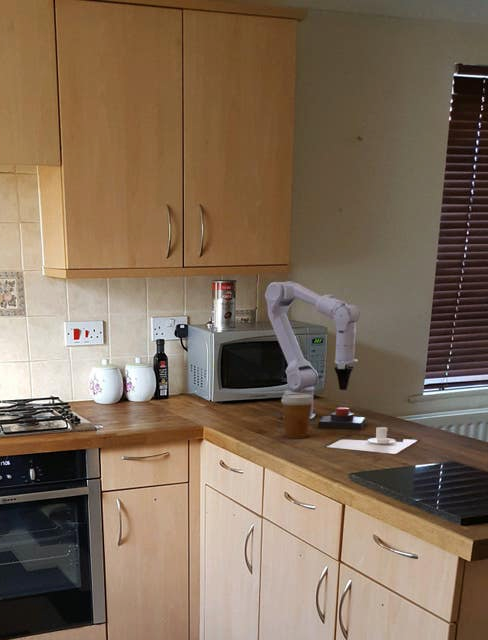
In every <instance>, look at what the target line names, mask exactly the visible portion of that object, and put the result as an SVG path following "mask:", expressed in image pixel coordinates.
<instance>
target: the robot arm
mask: <svg viewBox="0 0 488 640" xmlns="http://www.w3.org/2000/svg"><path fill="white" fill-rule="evenodd" d="M264 299H265V300H266V304H267V316H268V319H269V321H270V324H271V326H272V329H273V331H274V334H275V336H276V339H277V341H278V344H279V347H280V348H281V351H282V353H283V356H284V358H285V360H286V364H287V367H286V369H285V375H286V382H287V383H286V384H287V386H288V388H289V389H286V390H284V394H283V395H285V394H294V393H301V394H310V395H312V398H313V399H314V390H315V386H316V385H317V384H318V382H319V375H318V374H319V373H318V372H317V370H316V369H315V368H314V367H313V366H312V363H311V362H310V361H309V360H307V359H306V358H305V357H304V355H303V352H302V350H301V348H300V345H299V343H298V340H297V338H296V336H295V335H296V334H295V332H294V331H293V328H292V325H291V323H290V320H289V318H288V315H287V313H288V311H289V309H290V307H291V306H292V304H293V303H294V302H295V300H300V301H302V302H305V303H306V304H310V305H311V306H313V307H316V310H317V312H318V313H320V314H321V315H323V316H325V317H327V318H329V319H332V320H333V321H334V323H335V329H336V336H335V359H334V363H335V364H336V365H337V366H334V372H335V374H336V377H337V381H338V389H339V390H340V391H347V390H348V387H349V383H350V378H351V376H352V372H353V370H354V368H355V365H351V364H354V363H355V364H356V363H359V359H355V347H356V328H357V322H358V321H359V319H360V317H361V313H360V312H361V311H360V309H359V307H358V306H356V305H355V304H354V303H349V304H347V303H346V301H345V300H339V299H337V298H335V297H334V294H331V293H330V294H324V295H320V294H317V293H316V292H314V291H313V290H311V289H308V288H307V287H305V286H303V285H301V284H300V283H298V282H295V281H292V280H287V281H273V282H270V283H269V284H268V285H267V288H266V291H265V293H264ZM315 416H316V413H314V402H313V403H312V406H311V413H310V419H309V420H312V419H314V417H315ZM282 419H284V414H283V415H282Z"/></svg>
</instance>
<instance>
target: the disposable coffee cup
mask: <svg viewBox="0 0 488 640" xmlns="http://www.w3.org/2000/svg"><path fill="white" fill-rule="evenodd" d="M284 394H285V393H284ZM284 394H282V397H281V399H280V401H281V404H282V411H283V414H284V418H283V421H284V422H283V425H284V433H285V437H286V438H290V439H303V438H307V437H308V431H309V424H310V420H311V419H310V413H311V406H312V403H313V404H314V397H313V398H312V395H310V394H301V393H294V394H285V395H284Z"/></svg>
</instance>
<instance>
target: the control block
mask: <svg viewBox="0 0 488 640" xmlns="http://www.w3.org/2000/svg"><path fill="white" fill-rule="evenodd" d="M365 423H366V417H362V416H355V413H354V412H350V411H349V414H348V415H337V414H336V411H333V412H331V413H330V415H323V416H322V417H321V418H320V419H319V421H318V429H325V430H346V431H347V430H348V431H349V430H351V431H361V430H362V429H363V428H364V426H365Z"/></svg>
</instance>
